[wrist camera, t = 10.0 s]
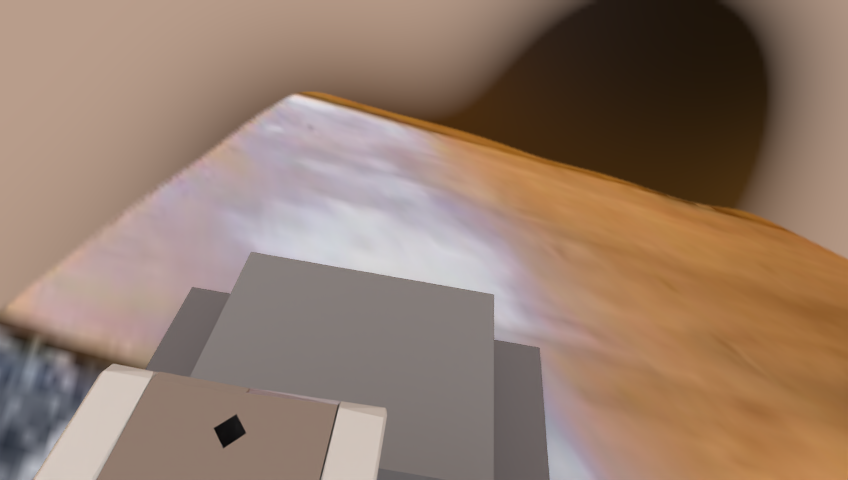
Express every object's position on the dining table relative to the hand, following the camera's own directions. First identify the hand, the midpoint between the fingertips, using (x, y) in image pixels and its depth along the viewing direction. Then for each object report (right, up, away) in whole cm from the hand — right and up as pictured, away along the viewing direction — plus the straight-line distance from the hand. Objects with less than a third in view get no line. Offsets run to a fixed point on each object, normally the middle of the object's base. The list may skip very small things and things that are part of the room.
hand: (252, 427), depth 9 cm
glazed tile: (-2, -7, +20) cm, 22 cm away
